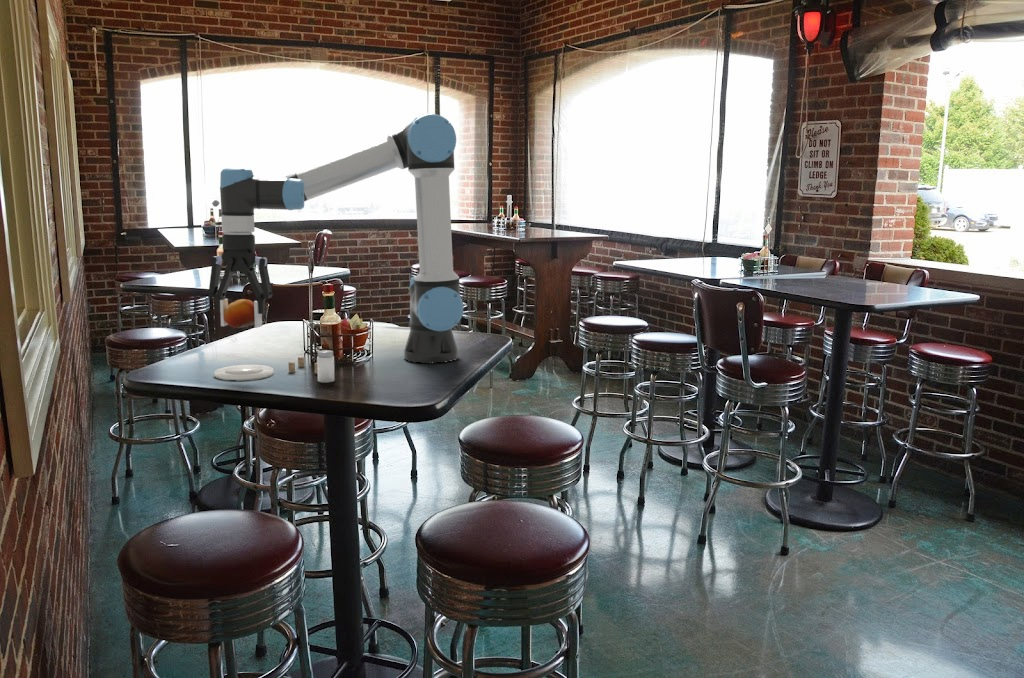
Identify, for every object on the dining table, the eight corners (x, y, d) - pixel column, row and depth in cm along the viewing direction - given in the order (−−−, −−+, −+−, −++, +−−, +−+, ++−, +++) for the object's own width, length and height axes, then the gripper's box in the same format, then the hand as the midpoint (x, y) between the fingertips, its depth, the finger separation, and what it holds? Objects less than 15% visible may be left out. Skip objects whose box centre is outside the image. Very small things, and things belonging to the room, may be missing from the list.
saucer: (281, 369, 209) (281, 364, 209) (260, 381, 196) (259, 376, 195) (229, 367, 210) (229, 362, 210) (204, 379, 197) (204, 373, 197)
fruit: (255, 324, 196) (238, 295, 195) (230, 339, 198) (213, 311, 197) (271, 319, 203) (255, 292, 203) (247, 334, 205) (231, 306, 205)
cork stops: (330, 367, 213) (330, 357, 213) (320, 373, 205) (319, 364, 205) (299, 365, 214) (299, 356, 214) (287, 372, 206) (287, 363, 205)
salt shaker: (336, 379, 200) (336, 350, 199) (331, 382, 196) (330, 353, 195) (320, 378, 200) (320, 349, 199) (315, 382, 196) (314, 352, 195)
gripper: (285, 233, 200) (287, 325, 204) (204, 231, 201) (208, 322, 205) (274, 235, 192) (276, 330, 196) (189, 232, 194) (194, 326, 198)
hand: (241, 325), depth 201 cm, fingers closed on fruit, 8 cm apart
